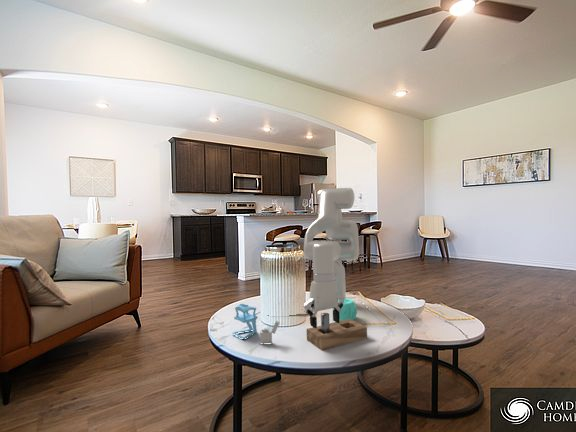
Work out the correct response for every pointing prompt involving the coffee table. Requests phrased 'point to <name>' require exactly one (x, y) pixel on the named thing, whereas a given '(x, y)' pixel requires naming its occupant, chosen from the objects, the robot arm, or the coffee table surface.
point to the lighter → (268, 334)
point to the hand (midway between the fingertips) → (325, 324)
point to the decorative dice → (348, 310)
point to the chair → (246, 319)
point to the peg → (325, 323)
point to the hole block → (337, 334)
